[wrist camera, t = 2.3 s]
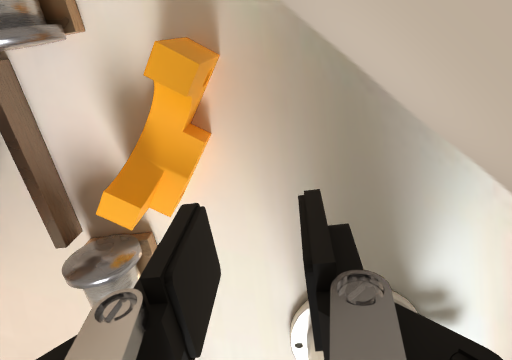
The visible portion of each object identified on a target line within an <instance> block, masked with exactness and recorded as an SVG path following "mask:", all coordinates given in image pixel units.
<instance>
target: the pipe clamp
mask: <svg viewBox="0 0 512 360" xmlns="http://www.w3.org/2000/svg"><path fill="white" fill-rule="evenodd" d="M219 56H220V55H219V54H217V53H215V52H213V51H211V50H209V49H207V48H205V47H204V46H202V45H200V44H198V43H196V42H194V41H192V40H190V39H189V38H187V37H184V38H176V39H168V40H160V41H155V42H154V45H153V48H152V51H151V54H150V57H149V60H148V63H147V66H146V69H145V72H144V76H146V77H148V78H150V79H152V80H153V81H154V96H153V101H152V105H151V109H150V112H149V115H148V118H147V121H146V124H145V126H144V129H143V131H142V133H141V136H140V138H139V140H138V142H137V144H136V146H135V148H134V150H133V152H132V153H131V155H130V157H129V159H128V160H127V162H126V164H125V165H124V167H123V168H122V170H121V171H120V173H119V174H118V175H117V177H116V178H115V179H114V181H113V182H112V183H111V184H110V185H109V186H108V187H107V189H105V190H104V191H103V194H102V197H101V200H100V203H99V206H98V209H97V212H96V215H98V216H100V217H103V218H105V219H107V220H109V221H112V222H114V223H116V224H118V225H121V226H123V227H125V228H127V229H130V230H133V228H134V227H135V226H136V224H137V223H138V222H139V220H140V219H141V218H142V216H143V215H144V214H145V212H146V211H147V210H148V208H151V209H154V210H156V211H158V212H160V213H162V214H164V215H167V216H169V217H171V215H172V214H173V212H174V210H175V209H176V207H177V205H178V203H179V202H180V200H181V198H182V196H183V194H184V192H185V190H186V188H187V185H188V183H189V181H190V179H191V177H192V175H193V172H194V170H195V168H196V166H197V164H198V162H199V159H200V157H201V155H202V153H203V151H204V149H205V146H206V144H207V142H208V140H209V138H210V136H211V133H209V132H207V131H205V130H203V129H201V128H199V127H197V126H195V125H193V124H191V121H192V119H193V117H194V114H195V112H196V110H197V107H198V105H199V103H200V100H201V98H202V96H203V93H204V91H205V89H206V86H207V84H208V82H209V79H210V77H211V75H212V72H213V70H214V68H215V65H216V63H217V61H218V58H219Z"/></svg>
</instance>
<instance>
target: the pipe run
mask: <svg viewBox="0 0 512 360" xmlns="http://www.w3.org/2000/svg"><path fill="white" fill-rule="evenodd" d="M79 32H85V29H84V26H83V23H82V20H81V17H80V14H79V11H78V8H77V5H76V2H75V0H0V51H7V50H14V49H20V48H27V47H33V46H38V45H44V44H49V43H54V42H58V41H62V40H65V39H66V36H65V35H69V34H74V33H79ZM0 132H1V134H2V137H3V139H4V141H5V143H6V145H7V147H8V149H9V151H10V153H11V155H12V158H13V160H14V162H15V164H16V166H17V168H18V170H19V172H20V174H21V176H22V178H23V181H24V183H25V185H26V187H27V189H28V191H29V193H30V195H31V197H32V199H33V202H34V204H35V206H36V208H37V210H38V212H39V214H40V216H41V218H42V220H43V223H44V225H45V227H46V229H47V231H48V233H49V235H50V237H51V239H52V241H53V244H54V246H55V248H66V247H67V246H68V245H69V244H70V243H71V242H72V241H73V240H74V239H75V238H76V237H77V236H78V235H79V234H80V233H81V232H82V229H81V227H80V224H79V222H78V220H77V217H76V215H75V213H74V210H73V208H72V206H71V203H70V201H69V199H68V196H67V194H66V192H65V189H64V187H63V185H62V182H61V180H60V178H59V175H58V173H57V171H56V168H55V166H54V164H53V161H52V159H51V157H50V154H49V152H48V150H47V147H46V145H45V143H44V140H43V138H42V136H41V134H40V131H39V129H38V127H37V124H36V122H35V120H34V117H33V115H32V113H31V110H30V108H29V106H28V103H27V101H26V99H25V96H24V94H23V92H22V89H21V87H20V85H19V82H18V80H17V78H16V75H15V73H14V71H13V68H12V66H11V64H10V61H9V59H7V60H0ZM156 248H157V244H156V241H155V238H154V235H153V232H149V233H139V234H129V235H127V234H119V235H112V236H108V237H100V238H91V239H90V240H89V241H88V242H87V243H86V244H85V245H84V246H83V247H82V248H80V249H79V250H77V251H76V252H74V253H73V254H72V255H71V256H70V257H69V258H68V259H67V260H66V261H65V263H64V265H63V267H62V274H63V276H64V278H65V280H66V282H67V284H68V285H69V286H71V287H73V288H79V289H83V290H84V293H85V295H86V297H87V299H88V301H89V303H90V305H91V308H93V306H94V305H95V304H96V303H97V302H98V301H99V300H100V299H102V298H103V297H105V296H106V295H108V294H110V293H112V292H115V291H117V290H121V289H126V288H134V286H135V284H136V283H137V281H138V279H139V277H140V276H141V274H142V272H143V270H144V269H145V267H146V265H147V263H148V262H149V260H150V258H151V256H152V255H153V253H154V251H155V249H156Z"/></svg>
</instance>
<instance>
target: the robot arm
mask: <svg viewBox="0 0 512 360" xmlns="http://www.w3.org/2000/svg"><path fill="white" fill-rule="evenodd" d="M298 200H299V212H300V224H301V237H302V249H303V261H304V270H305V278H306V286H307V293H308V301H306V302H305V303H304V304H303V305H302V306H301V307H300V308H299V310H298V311H297V313H296V314H295V316H294V318H293V321H292V323H291V329H290V344H291V348H292V352H293V354H294V356H295V357H296V359H297V360H503V359H502V358H501V357H500V356H499V355H497V354H495V353H494V352H492V351H491V350H489V349H487V348H486V347H484V346H482V345H480V344H478V343H476V342H474V341H472V340H470V339H468V338H466V337H464V336H462V335H460V334H458V333H456V332H454V331H452V330H450V329H448V328H446V327H444V326H442V325H440V324H438V323H436V322H434V321H432V320H430V319H428V318H426V317H424V316H422V315H420V314H418V312H417V311H416V309H415V308H414V306H413V305H412V304H411V303H410V302H409V301H408V300H407V299H406V298H404V297H402V296H401V295H399V294H398V293H396V292H394V291H392V290H391V287H390V285H389V283H388V282H387V281H386V280H385V279H384V278H383V277H382V276H380V275H378V274H376V273H374V272H370V271H367V270H363V267H362V263H361V260H360V257H359V254H358V251H357V248H356V245H355V242H354V239H353V236H352V233H351V229H350V226H349V224H339V225H329V226H328V225H327V220H326V216H325V211H324V206H323V202H322V197H321V193H320V189H317V190H308V191H304V195H300V196H298ZM220 276H221V269H220V264H219V260H218V256H217V252H216V248H215V245H214V241H213V237H212V233H211V229H210V225H209V221H208V217H207V213H206V209H205V207H204V206H202V207H200V205H199V204H198V203H193V204H184V205H182V206H181V207H180V209H179V211H178V212H177V214H176V216H175V218H174V219H173V221H172V223H171V225H170V226H169V228H168V230H167V232H166V233H165V235H164V237H163V239H162V240H161V242H160V243H159V245H158V246H157V248H156V249H155V251H154V253H153V255H152V256H151V258H150V260H149V262H148V263H147V265H146V267H145V269H144V270H143V272H142V274H141V276H140V277H139V279H138V281H137V283H136V284H135V286H134V288H126V289H121V290H117V291H115V292H112V293H110V294H108V295H106V296H105V297H103V298H102V299H100V300H99V301H98V302H97V303H96V304H95V305H94V306H93V308H92V309H91V311H90V312H89V314H88V316H87V318H86V320H85V322H84V324H83V326H82V328H81V329H80V331H79V333H78V335H76V336H74V337H73V338H71V339H69V340H68V341H66V342H64V343H63V344H61V345H59V346H58V347H56V348H54V349H53V350H51V351H49V352H48V353H46V354H44V355H43V356H41V357H39V358H38V359H36V360H195V358H198V357H200V355H201V352H202V348H203V344H204V340H205V336H206V332H207V328H208V324H209V320H210V316H211V312H212V308H213V305H214V301H215V297H216V293H217V289H218V285H219V281H220Z"/></svg>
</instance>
